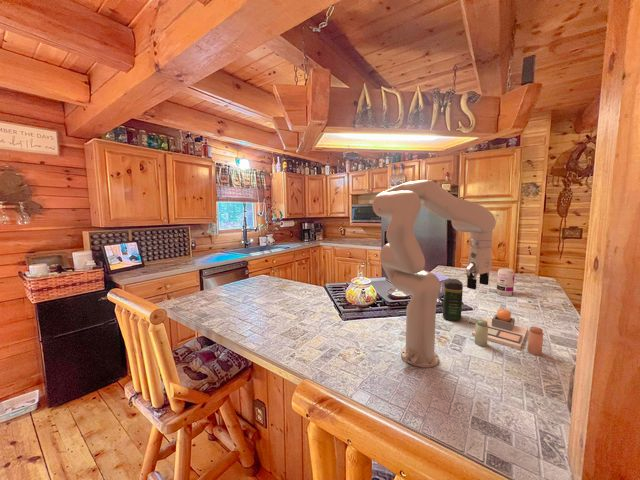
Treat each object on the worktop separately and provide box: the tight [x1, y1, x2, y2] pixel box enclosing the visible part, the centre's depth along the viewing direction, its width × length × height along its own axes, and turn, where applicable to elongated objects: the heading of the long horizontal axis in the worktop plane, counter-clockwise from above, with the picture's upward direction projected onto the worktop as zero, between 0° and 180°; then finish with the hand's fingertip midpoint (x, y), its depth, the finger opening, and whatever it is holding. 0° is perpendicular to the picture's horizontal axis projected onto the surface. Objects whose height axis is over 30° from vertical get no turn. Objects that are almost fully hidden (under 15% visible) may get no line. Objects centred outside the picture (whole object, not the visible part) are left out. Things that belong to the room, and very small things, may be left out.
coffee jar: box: [442, 277, 464, 322], centre depth 125 cm, size 10×8×19 cm
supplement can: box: [495, 267, 516, 297], centre depth 156 cm, size 8×8×15 cm
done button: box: [496, 308, 512, 322], centre depth 113 cm, size 5×5×4 cm
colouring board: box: [471, 313, 529, 350], centre depth 110 cm, size 20×16×4 cm
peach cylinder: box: [527, 326, 544, 356], centre depth 95 cm, size 4×4×9 cm
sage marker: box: [474, 319, 488, 347], centre depth 101 cm, size 4×4×9 cm
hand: (477, 286), depth 105 cm, fingers open, 9 cm apart
